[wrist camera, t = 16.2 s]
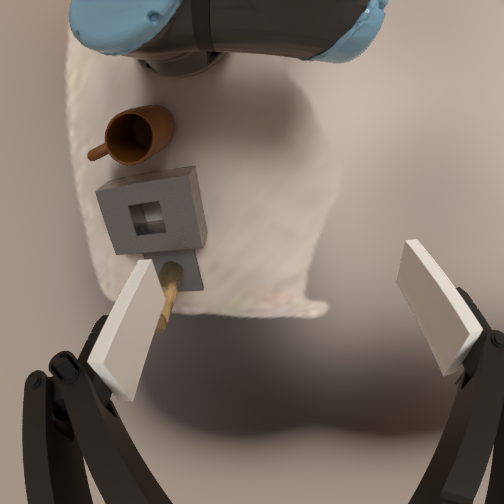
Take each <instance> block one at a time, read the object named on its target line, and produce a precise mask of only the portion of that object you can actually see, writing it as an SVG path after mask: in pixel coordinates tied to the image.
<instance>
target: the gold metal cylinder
mask: <svg viewBox="0 0 504 504" xmlns="http://www.w3.org/2000/svg"><path fill="white" fill-rule="evenodd" d="M183 275H184V270H183V268H182V266H181V265H180V264H178V263H176V262H173V261H168V262H165V263H164V264H163V265H162V268H161V270H160V272H159V274H158V279H159V282H160V285H161V288H162V291H163V293H164V296H165V299H166V300H165V303H164V306H163V309H162V312H161V314H160V317H159V320H158V323H157V326H156V329H155V332H154V334H159V333H162V332H164V331H165V329H166V325H167V322H168V319H169V316H170V313H171V310H172V307H173V304H174V301H175V298H176V295H177V292H178V289H179V286H180V283H181V280H182V278H183Z"/></svg>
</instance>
